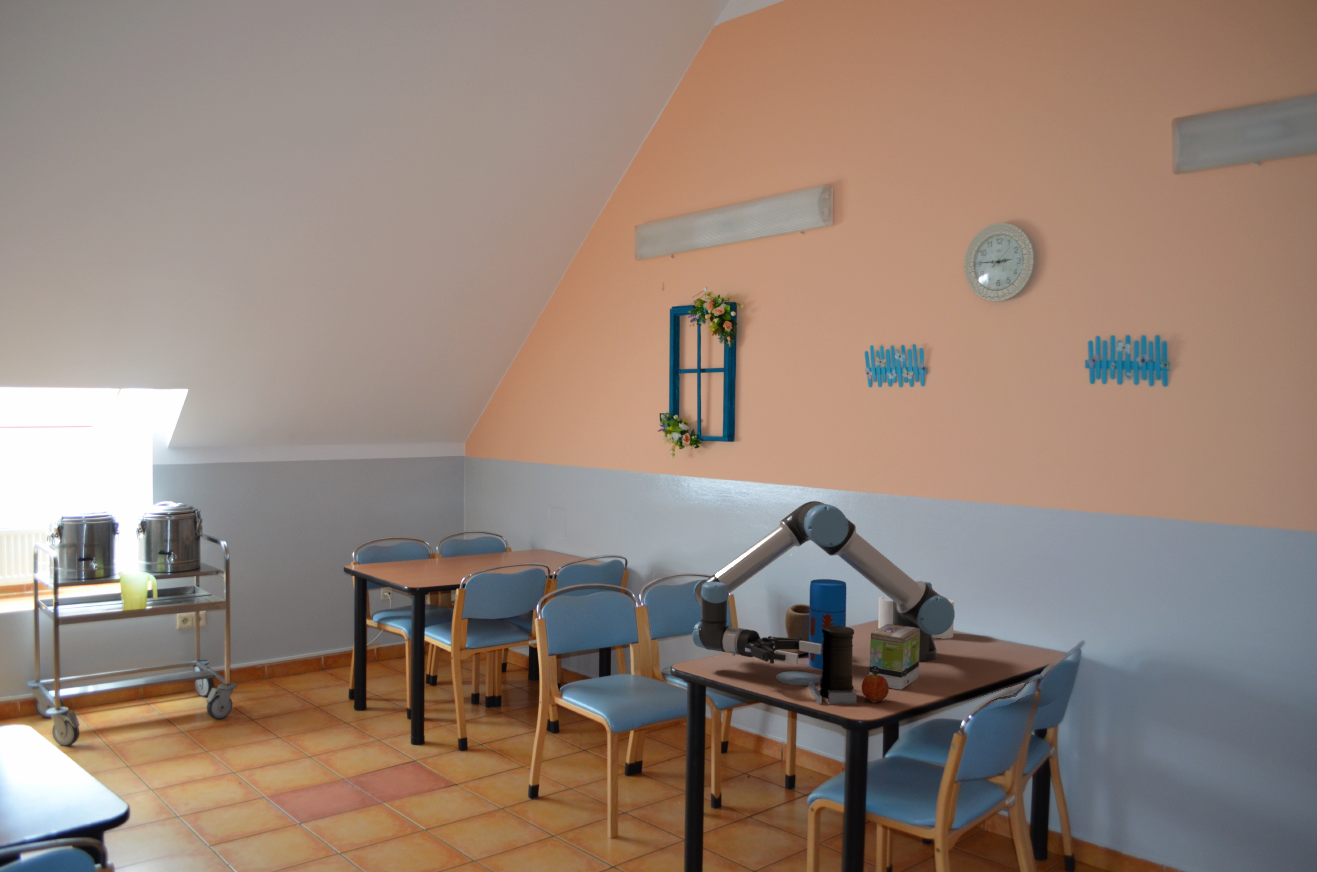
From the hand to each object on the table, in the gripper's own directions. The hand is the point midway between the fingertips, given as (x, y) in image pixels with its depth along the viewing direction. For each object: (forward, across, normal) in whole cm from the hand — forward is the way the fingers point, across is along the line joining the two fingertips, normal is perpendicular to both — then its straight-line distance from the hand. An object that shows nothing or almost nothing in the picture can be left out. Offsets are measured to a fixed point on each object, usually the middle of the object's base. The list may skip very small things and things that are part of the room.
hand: (809, 654), depth 258 cm
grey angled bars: (+7, +1, -10) cm, 12 cm away
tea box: (+15, -23, -10) cm, 29 cm away
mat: (-7, -8, -10) cm, 14 cm away
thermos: (-8, -26, -10) cm, 29 cm away
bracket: (-2, -82, -10) cm, 82 cm away
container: (+8, 0, -10) cm, 13 cm away
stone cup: (-21, -35, -10) cm, 42 cm away
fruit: (+18, -2, -10) cm, 21 cm away
